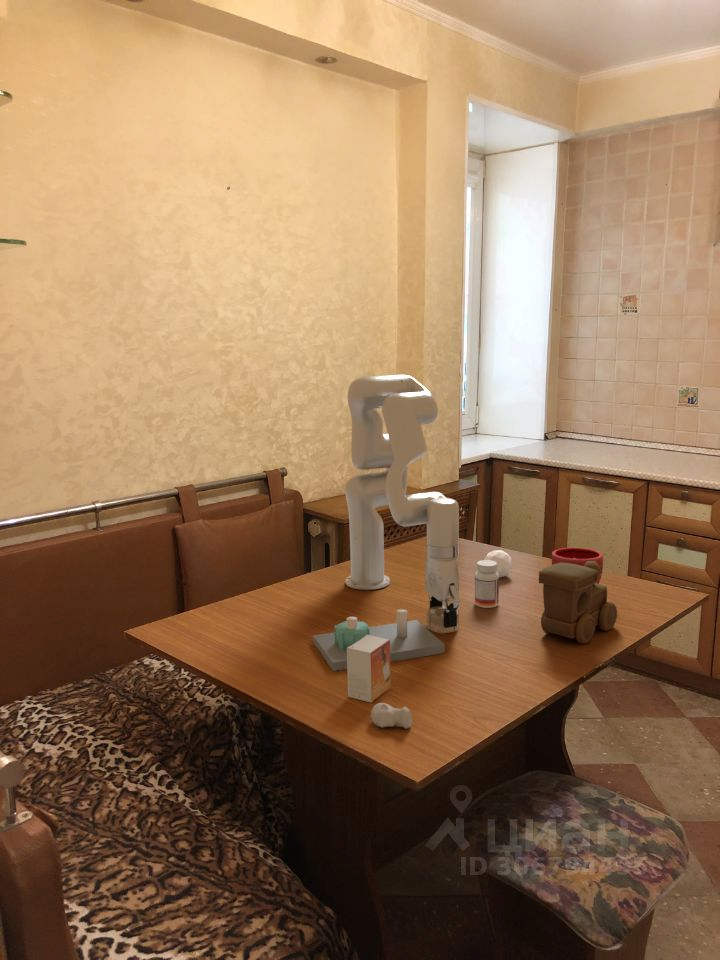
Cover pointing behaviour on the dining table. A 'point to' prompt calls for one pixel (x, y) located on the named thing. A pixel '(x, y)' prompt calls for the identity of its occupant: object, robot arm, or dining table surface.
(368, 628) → the gear board
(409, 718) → the pale two-lobed sculpture
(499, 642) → the dining table surface
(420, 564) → the dining table surface
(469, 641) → the dining table surface
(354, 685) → the small box
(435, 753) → the dining table surface
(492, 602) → the pill bottle
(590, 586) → the wooden toy train
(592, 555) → the plant pot
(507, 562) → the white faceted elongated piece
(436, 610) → the wooden gear
